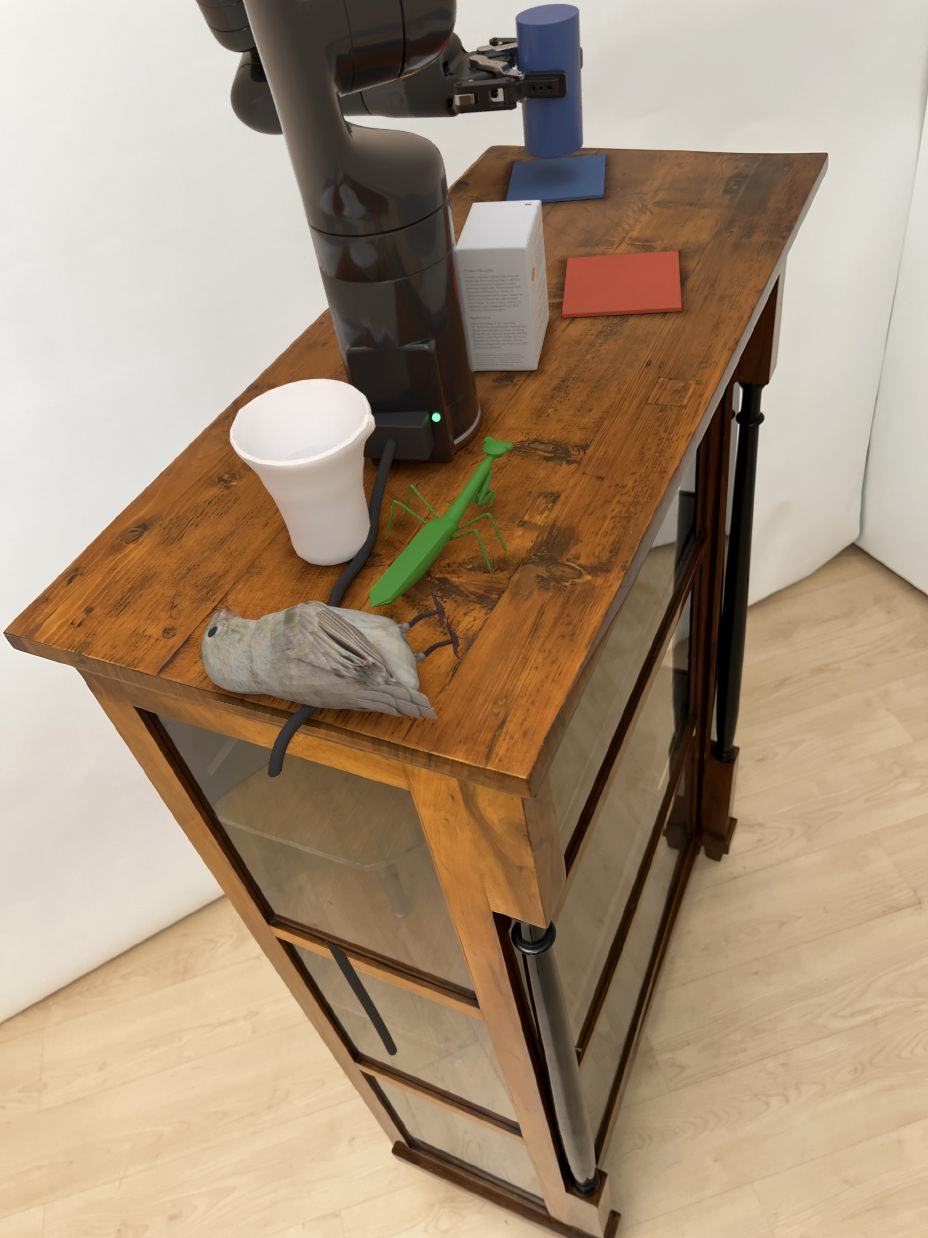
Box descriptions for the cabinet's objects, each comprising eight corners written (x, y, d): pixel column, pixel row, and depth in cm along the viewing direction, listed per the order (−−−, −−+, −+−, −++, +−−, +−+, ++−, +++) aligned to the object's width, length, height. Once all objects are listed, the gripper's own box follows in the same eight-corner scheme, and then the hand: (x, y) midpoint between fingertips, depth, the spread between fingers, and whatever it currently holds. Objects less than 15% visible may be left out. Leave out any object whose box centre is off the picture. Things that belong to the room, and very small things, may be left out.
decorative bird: (202, 578, 57) (154, 682, 53) (451, 573, 52) (421, 688, 47) (242, 631, 61) (201, 731, 57) (477, 631, 56) (451, 742, 51)
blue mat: (603, 197, 96) (603, 193, 96) (506, 205, 98) (505, 201, 97) (605, 157, 103) (605, 153, 102) (514, 165, 104) (514, 161, 104)
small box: (487, 321, 82) (471, 200, 75) (551, 319, 81) (542, 196, 73) (469, 372, 77) (451, 248, 70) (537, 372, 76) (526, 245, 68)
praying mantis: (564, 511, 64) (562, 456, 61) (437, 652, 56) (428, 597, 53) (451, 474, 69) (445, 420, 65) (318, 600, 60) (303, 546, 57)
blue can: (593, 147, 96) (590, 12, 87) (539, 163, 95) (531, 28, 86) (567, 129, 100) (561, -2, 91) (515, 144, 99) (505, 14, 90)
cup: (382, 586, 61) (348, 463, 54) (252, 576, 63) (202, 456, 56) (419, 497, 67) (392, 375, 59) (298, 491, 69) (258, 372, 62)
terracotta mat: (681, 311, 79) (681, 306, 79) (561, 317, 81) (561, 313, 81) (678, 254, 86) (678, 250, 86) (567, 261, 88) (567, 257, 87)
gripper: (382, 60, 89) (555, 53, 85) (430, 11, 98) (589, 2, 94) (396, 143, 95) (559, 141, 90) (440, 89, 104) (591, 85, 99)
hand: (574, 70), depth 92 cm, fingers closed on blue can, 6 cm apart
